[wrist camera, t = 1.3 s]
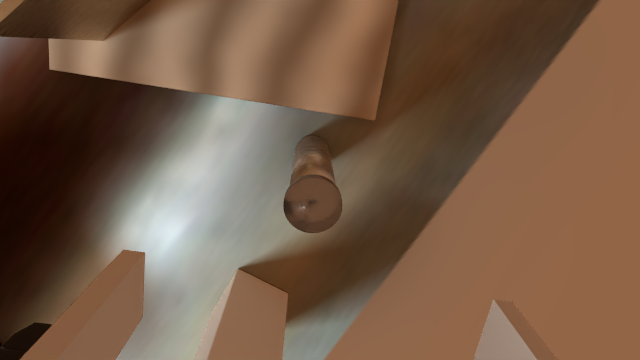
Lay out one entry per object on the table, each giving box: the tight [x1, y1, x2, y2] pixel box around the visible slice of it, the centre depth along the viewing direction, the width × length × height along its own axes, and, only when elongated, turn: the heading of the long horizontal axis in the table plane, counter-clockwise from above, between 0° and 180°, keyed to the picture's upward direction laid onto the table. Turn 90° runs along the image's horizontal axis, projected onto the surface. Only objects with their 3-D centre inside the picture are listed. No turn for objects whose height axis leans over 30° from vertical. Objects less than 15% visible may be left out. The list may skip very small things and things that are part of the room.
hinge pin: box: [284, 135, 342, 233], centre depth 32 cm, size 4×4×14 cm
